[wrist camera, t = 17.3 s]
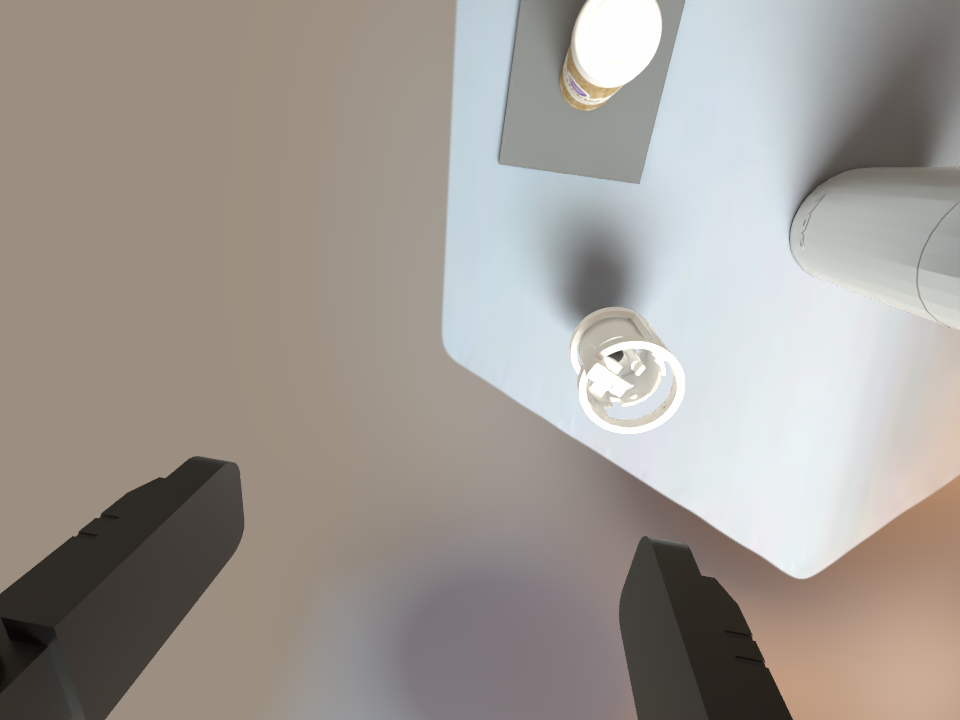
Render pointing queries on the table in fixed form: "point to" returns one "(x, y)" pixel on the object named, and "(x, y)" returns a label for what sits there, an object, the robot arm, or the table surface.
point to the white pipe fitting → (622, 368)
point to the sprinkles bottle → (608, 49)
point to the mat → (564, 129)
